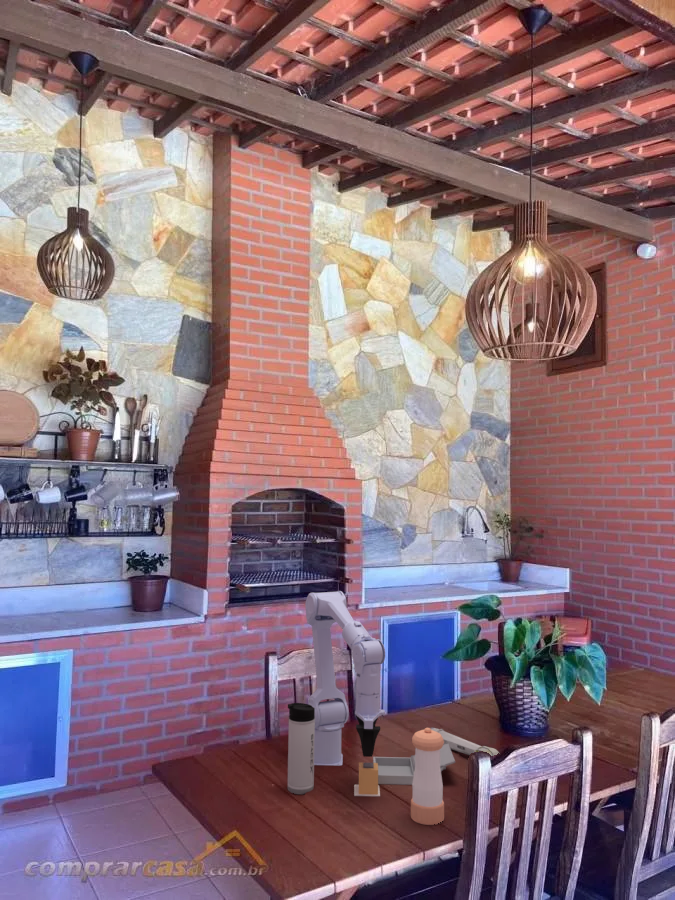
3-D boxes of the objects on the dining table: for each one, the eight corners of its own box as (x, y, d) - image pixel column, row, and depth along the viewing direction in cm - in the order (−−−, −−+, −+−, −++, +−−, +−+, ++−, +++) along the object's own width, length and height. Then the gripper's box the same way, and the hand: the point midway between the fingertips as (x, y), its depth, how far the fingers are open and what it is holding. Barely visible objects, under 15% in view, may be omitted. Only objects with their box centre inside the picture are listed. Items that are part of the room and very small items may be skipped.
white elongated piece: (436, 742, 202) (506, 767, 182) (420, 747, 198) (490, 773, 178) (436, 723, 202) (506, 746, 183) (420, 728, 198) (489, 752, 178)
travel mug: (282, 786, 169) (284, 701, 170) (308, 782, 171) (310, 699, 172) (290, 796, 163) (292, 709, 164) (317, 792, 165) (318, 706, 166)
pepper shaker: (403, 816, 153) (404, 727, 155) (424, 806, 159) (425, 720, 160) (430, 828, 148) (430, 736, 149) (450, 817, 153) (451, 728, 155)
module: (358, 793, 163) (359, 768, 164) (358, 785, 168) (359, 760, 168) (377, 794, 163) (378, 768, 164) (377, 786, 168) (377, 761, 168)
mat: (354, 797, 163) (354, 795, 163) (354, 787, 169) (354, 784, 169) (380, 798, 163) (380, 795, 163) (379, 787, 169) (379, 785, 169)
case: (374, 787, 169) (375, 760, 169) (373, 766, 182) (373, 741, 182) (455, 788, 168) (456, 762, 169) (448, 768, 181) (448, 743, 182)
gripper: (386, 701, 160) (385, 762, 159) (383, 684, 174) (382, 739, 173) (355, 700, 160) (354, 761, 159) (355, 683, 174) (354, 739, 174)
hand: (367, 750), depth 166 cm, fingers open, 7 cm apart
